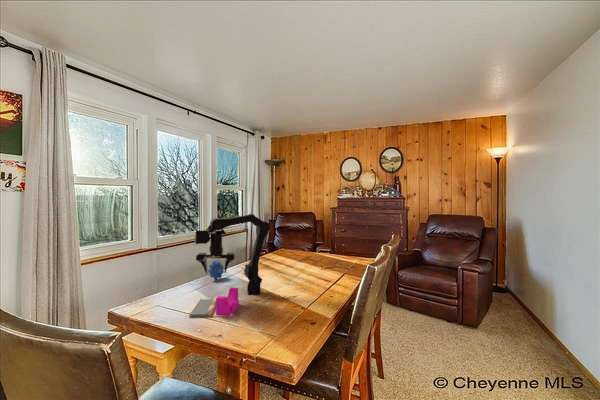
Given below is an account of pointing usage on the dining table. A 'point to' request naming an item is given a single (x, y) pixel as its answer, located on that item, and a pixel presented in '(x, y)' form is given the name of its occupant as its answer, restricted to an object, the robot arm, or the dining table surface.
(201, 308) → the hinge leaf
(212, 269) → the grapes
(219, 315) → the leaf pad
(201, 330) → the dining table surface
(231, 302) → the toy block
